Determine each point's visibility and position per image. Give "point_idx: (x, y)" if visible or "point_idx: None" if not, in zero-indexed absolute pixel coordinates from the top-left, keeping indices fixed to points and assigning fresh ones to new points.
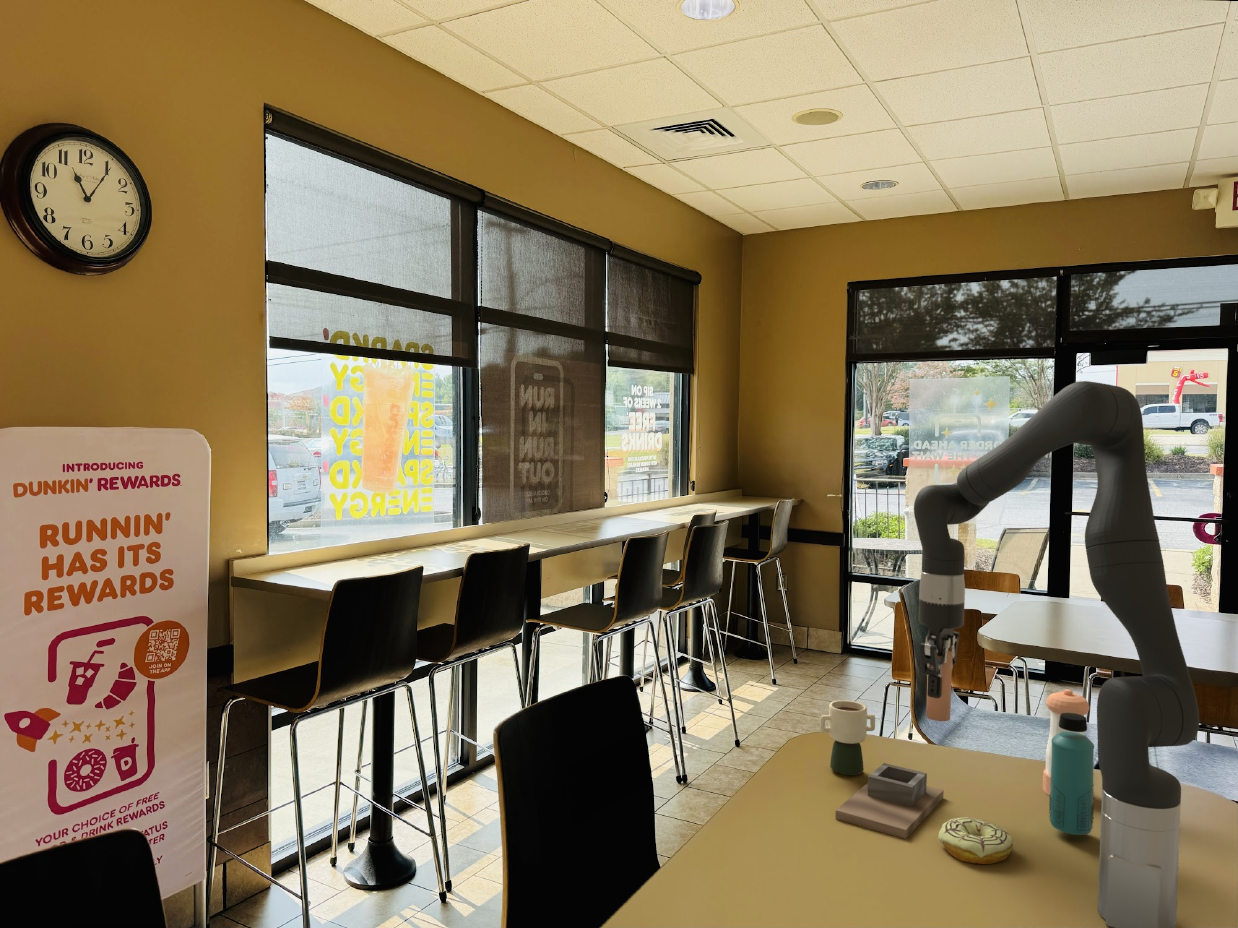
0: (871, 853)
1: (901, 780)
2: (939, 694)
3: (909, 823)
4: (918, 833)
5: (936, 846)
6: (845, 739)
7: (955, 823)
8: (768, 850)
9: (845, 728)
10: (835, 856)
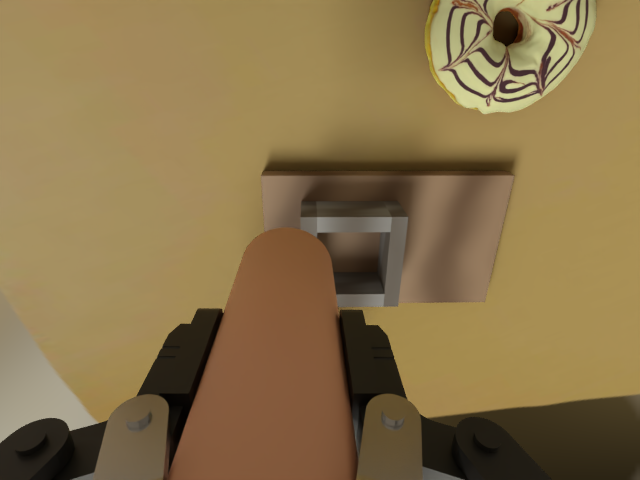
0: (591, 199)
1: None
2: (364, 320)
3: (480, 179)
4: (468, 158)
5: None
6: None
7: (512, 80)
8: (636, 322)
9: None
10: (623, 242)
